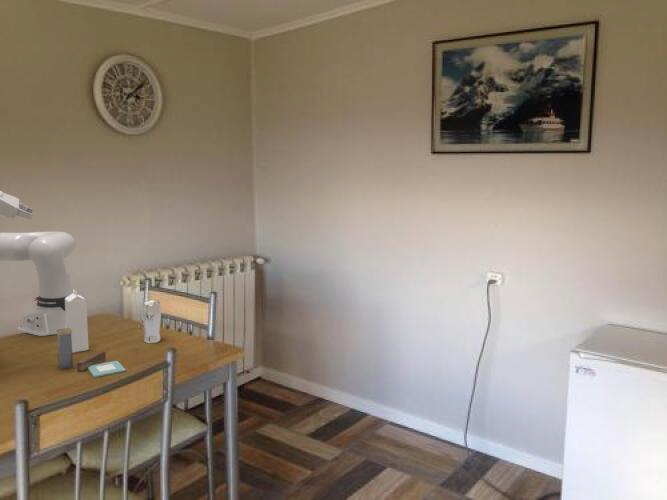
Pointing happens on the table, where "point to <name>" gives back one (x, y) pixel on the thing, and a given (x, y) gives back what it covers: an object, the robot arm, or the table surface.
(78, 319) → the milk
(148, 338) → the beer glass
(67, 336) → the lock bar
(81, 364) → the dark brown bar
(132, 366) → the table surface
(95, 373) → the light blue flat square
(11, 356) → the table surface
